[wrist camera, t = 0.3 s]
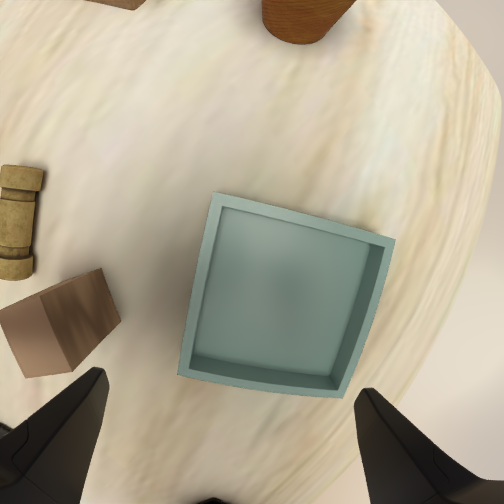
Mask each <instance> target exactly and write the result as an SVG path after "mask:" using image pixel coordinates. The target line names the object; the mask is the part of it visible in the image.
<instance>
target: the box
mask: <svg viewBox="0 0 504 504" xmlns="http://www.w3.org/2000/svg"><path fill="white" fill-rule="evenodd" d="M395 240H396V239H392V238H389V237H386V236H382V235H379V234H376V233H372V232H369V231H366V230H362V229H359V228H355V227H352V226H348V225H345V224H341V223H337V222H334V221H330V220H327V219H323V218H319V217H316V216H312V215H308V214H304V213H300V212H296V211H293V210H289V209H285V208H281V207H277V206H273V205H269V204H265V203H261V202H256V201H252V200H248V199H244V198H239V197H235V196H231V195H226V194H222V193H217V192H213V195H212V200H211V204H210V208H209V212H208V217H207V221H206V225H205V230H204V234H203V239H202V244H201V248H200V253H199V258H198V262H197V267H196V272H195V277H194V282H193V287H192V292H191V298H190V303H189V308H188V314H187V319H186V325H185V330H184V336H183V342H182V348H181V354H180V360H179V366H178V373H177V375H180V376H185V377H189V378H193V379H198V380H203V381H207V382H212V383H218V384H223V385H228V386H234V387H240V388H246V389H253V390H259V391H266V392H274V393H282V394H291V395H301V396H312V397H326V398H343V397H344V394H345V392H346V390H347V388H348V385H349V383H350V380H351V378H352V376H353V373H354V371H355V368H356V366H357V363H358V361H359V358H360V355H361V353H362V350H363V347H364V345H365V342H366V339H367V336H368V333H369V331H370V328H371V325H372V322H373V319H374V316H375V313H376V309H377V306H378V303H379V300H380V297H381V293H382V290H383V286H384V283H385V279H386V276H387V272H388V268H389V265H390V261H391V257H392V253H393V249H394V245H395Z"/></svg>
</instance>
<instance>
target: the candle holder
mask: <svg viewBox="0 0 504 504" xmlns="http://www.w3.org/2000/svg"><path fill="white" fill-rule="evenodd" d="M87 1H92V2H97V3H102V4H107V5H111V6H115V7H119V8H124V9H129V10H135V9H136V8H138V7H139V6H140V5H141V4H142V3H143V2H145V1H146V0H87Z"/></svg>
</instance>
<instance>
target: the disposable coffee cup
mask: <svg viewBox="0 0 504 504" xmlns="http://www.w3.org/2000/svg"><path fill="white" fill-rule="evenodd" d="M355 1H356V0H262V10H263V11H262V13H263V23H264V25H265V27H266V28H267V29H268V30H269V32H270V33H272V34H273V35H274V36H276V37H277V38H279V39H281V40H284V41H286V42H290V43H294V44H310V43H314V42H317V41H318V40H320V39H322V38H323V37H324V35H325V34H326V33H327V32H328V31H329V30H330V28H331V27H332V26H333V25H334V24H335V23H336V22H337V21H338V20H339V18H340V17H341V16H342V15H343V14H344V13H345V12H346V11H347V10H348V9H349V8H350V7H351V5H352V4H353V3H354V2H355Z"/></svg>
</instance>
